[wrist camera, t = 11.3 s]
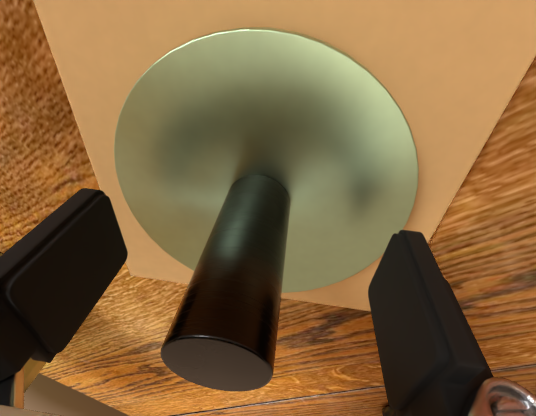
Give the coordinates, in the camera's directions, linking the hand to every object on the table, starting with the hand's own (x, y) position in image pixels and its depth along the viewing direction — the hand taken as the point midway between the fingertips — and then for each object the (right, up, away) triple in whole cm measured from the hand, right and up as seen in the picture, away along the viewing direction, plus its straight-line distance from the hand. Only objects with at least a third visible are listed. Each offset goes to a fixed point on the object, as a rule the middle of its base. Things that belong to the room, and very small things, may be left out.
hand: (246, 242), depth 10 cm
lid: (0, +2, +2) cm, 3 cm away
